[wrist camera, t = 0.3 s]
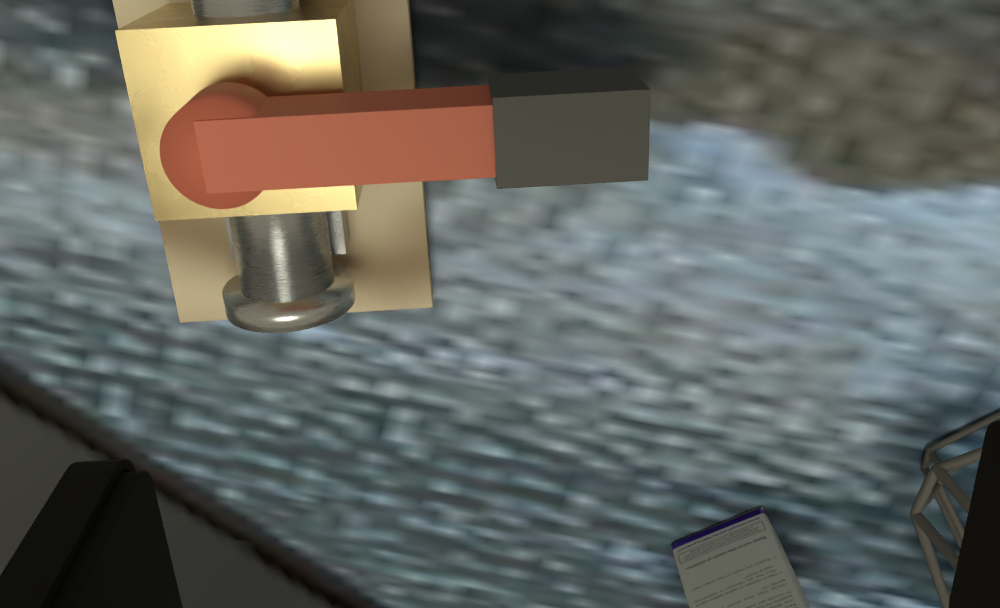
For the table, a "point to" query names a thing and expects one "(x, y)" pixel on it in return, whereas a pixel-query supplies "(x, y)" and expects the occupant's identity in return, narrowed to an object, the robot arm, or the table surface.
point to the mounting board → (373, 226)
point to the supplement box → (738, 566)
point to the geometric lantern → (943, 503)
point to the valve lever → (411, 135)
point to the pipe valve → (274, 72)
